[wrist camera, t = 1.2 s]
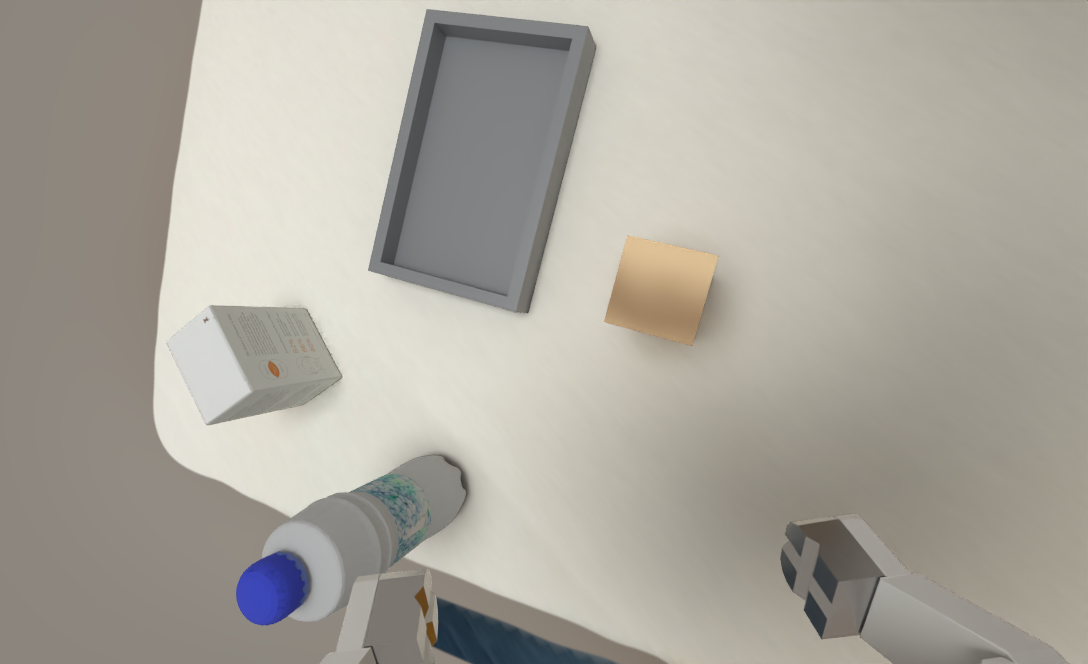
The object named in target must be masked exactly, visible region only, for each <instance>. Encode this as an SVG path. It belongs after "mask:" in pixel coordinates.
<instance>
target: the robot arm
mask: <svg viewBox="0 0 1088 664" xmlns="http://www.w3.org/2000/svg"><path fill="white" fill-rule="evenodd" d="M785 535H786V536H787V538H788V539H789V542H788V543H787V544H786V545H785V546H784V547H783V548H782V552H781V565H782V570H783V573H784V576H785V578H786V581H787V583H788V584H789V586H790V588H791V590H792V591H793V592H794V593H795V594H797V595H798V596H800V597H801V598H803V599H804V600H805V605H804V611H805V613H806V614H807V616H808V618H809V619H810V621H811V623H812V624H813V626H814V628H815V629H816V631H817V632H818V634H819V636H820V637H821V639H827V638H836V637H845V636H854V635H860V638H862V639H863V640H864V641H865V642H867V643H868V644H869V645H870V646H872V647H873V648H874V649H876V650H877V651H878V652H879V653H881V654H882V655H883V656H884V657H886V658H887V659H888V660H889V661H891V662H892V663H893V664H1069V663H1068V662H1067V661H1066V660H1065V659H1064V658H1063V657H1062V656H1061V655H1060V654H1059V653H1058V652H1057V651H1056V650H1055V649H1054V648H1053V647H1051V646H1049V645H1048V644H1046V643H1044V642H1042V641H1040V640H1039V639H1037V638H1035V637H1033V636H1031V635H1029V634H1028V633H1026V632H1024V631H1022V630H1020V629H1018V628H1017V627H1015V626H1013V625H1011V624H1009V623H1007V622H1006V621H1004V620H1002V619H1000V618H998V617H997V616H995V615H993V614H991V613H989V612H987V611H986V610H984V609H982V608H980V607H978V606H976V605H975V604H973V603H971V602H969V601H967V600H966V599H964V598H962V597H960V596H958V595H956V594H955V593H953V592H951V591H949V590H947V589H945V588H944V587H942V586H940V585H938V584H936V583H935V582H933V581H931V580H929V579H927V578H925V577H924V576H922V575H920V574H918V573H910V572H909V571H908V570H907V569H906V568H905V567H904V566H903V564H902V563H901V562H900V561H899V560H898V559H897V558H896V556H895V555H894V554H893V553H892V552H891V551H890V550H889V548H888V547H887V546H886V545H885V544H884V543H883V542H882V540H881V539H880V538H879V537H878V536H877V535H876V534H875V532H874V531H873V530H872V529H871V528H870V527H869V526H868V524H867V523H866V522H865V521H864V520H863V519H862V518H861V517H860V516H858V515H857V514H849V515H841V516H834V517H830V516H829V517H822V518H815V519H808V520H801V521H794V522H790V523H789V524H788V525H787V528H786V532H785ZM431 581H432V579H431V575H430V571H429V569H423V570H414V571H403V572H394V573H383V574H375V575H366V576H358V577H357V579H356V581H355V582H354V584H353V588H352V591H351V595H350V599H349V603H348V606H347V610H346V614H345V618H344V622H343V625H342V629H341V633H340V636H339V640H338V644H337V648H336V652H331V653H328V654H327V655H326V656H325V657H324V659H323V660H322V661H321V662H320V663H319V664H435V660H434V656H433V651H432V646H433V645H434V643H435V642H436V641H437V632H438V609H437V601H436V596H435V593H434V592H432V591H431Z"/></svg>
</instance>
